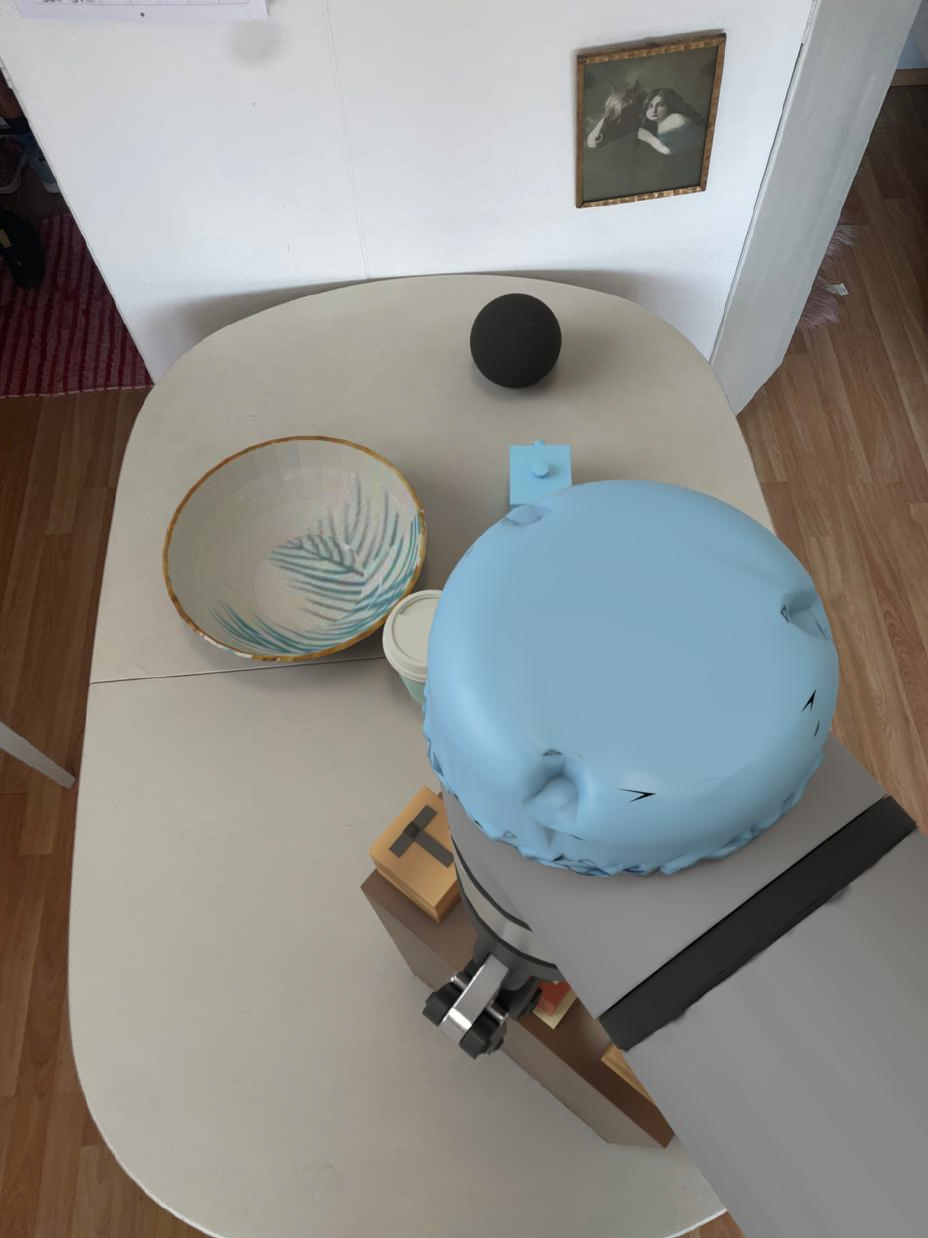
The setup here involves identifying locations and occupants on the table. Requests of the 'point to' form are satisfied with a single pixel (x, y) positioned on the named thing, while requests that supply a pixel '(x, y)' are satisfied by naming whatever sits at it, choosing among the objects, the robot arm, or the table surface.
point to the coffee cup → (411, 639)
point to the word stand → (443, 943)
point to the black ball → (515, 340)
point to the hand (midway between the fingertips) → (543, 951)
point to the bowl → (294, 548)
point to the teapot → (538, 471)
